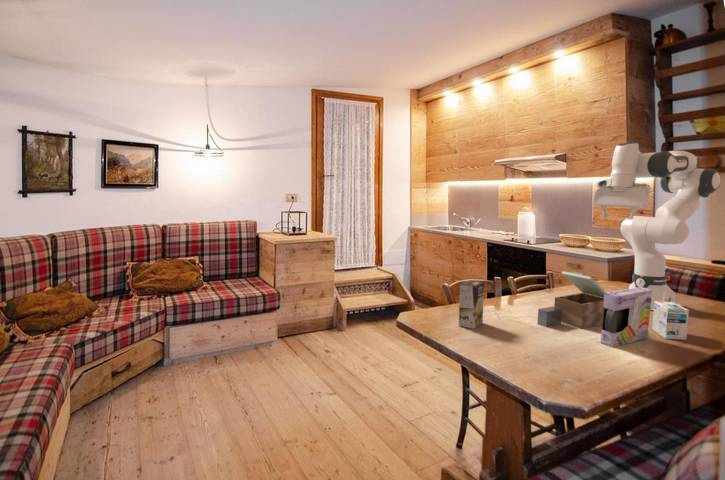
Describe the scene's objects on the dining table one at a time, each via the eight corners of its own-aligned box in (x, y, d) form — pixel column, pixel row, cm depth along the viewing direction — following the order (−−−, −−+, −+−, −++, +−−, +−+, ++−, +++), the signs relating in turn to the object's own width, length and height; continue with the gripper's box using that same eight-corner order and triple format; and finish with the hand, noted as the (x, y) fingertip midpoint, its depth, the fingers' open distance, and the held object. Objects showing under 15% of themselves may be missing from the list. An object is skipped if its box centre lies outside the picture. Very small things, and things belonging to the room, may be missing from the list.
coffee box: (474, 329, 158) (476, 286, 156) (458, 326, 161) (459, 284, 159) (483, 322, 165) (484, 281, 163) (467, 319, 169) (468, 279, 167)
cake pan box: (610, 348, 139) (614, 295, 137) (596, 343, 144) (600, 291, 142) (649, 339, 147) (653, 289, 145) (635, 335, 152) (639, 286, 149)
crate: (580, 314, 176) (582, 292, 175) (608, 322, 166) (610, 299, 164) (553, 319, 169) (554, 297, 168) (581, 328, 158) (582, 304, 157)
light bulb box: (687, 340, 146) (690, 309, 145) (665, 339, 148) (667, 308, 146) (671, 330, 157) (674, 301, 155) (650, 329, 158) (653, 300, 157)
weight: (552, 321, 167) (553, 306, 167) (561, 324, 164) (561, 309, 163) (537, 324, 164) (538, 308, 163) (546, 327, 160) (547, 311, 160)
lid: (582, 292, 175) (584, 288, 175) (610, 299, 164) (612, 295, 165) (561, 273, 168) (563, 269, 168) (589, 279, 158) (591, 274, 158)
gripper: (654, 184, 164) (649, 220, 165) (600, 184, 181) (595, 217, 182) (647, 182, 161) (642, 219, 162) (592, 182, 177) (588, 215, 178)
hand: (617, 218), depth 172 cm, fingers open, 8 cm apart
